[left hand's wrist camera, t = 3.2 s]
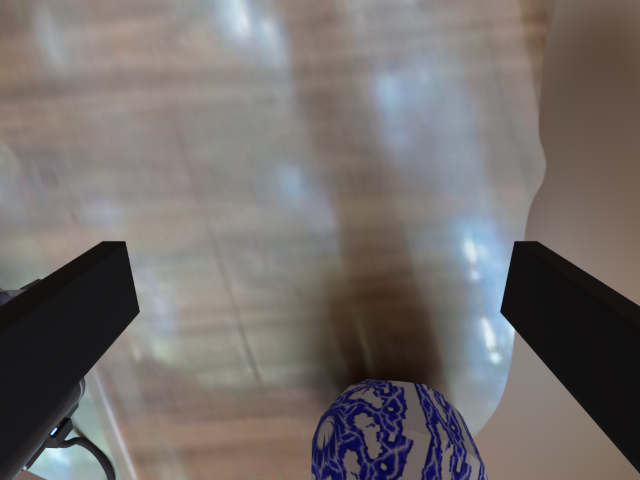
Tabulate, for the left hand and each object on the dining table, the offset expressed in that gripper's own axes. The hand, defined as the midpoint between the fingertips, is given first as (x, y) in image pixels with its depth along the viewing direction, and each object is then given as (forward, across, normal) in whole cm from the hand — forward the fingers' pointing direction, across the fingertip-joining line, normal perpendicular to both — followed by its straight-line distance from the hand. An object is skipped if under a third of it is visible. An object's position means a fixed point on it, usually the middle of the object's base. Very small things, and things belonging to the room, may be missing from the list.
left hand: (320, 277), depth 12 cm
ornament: (+28, +9, -34) cm, 45 cm away
